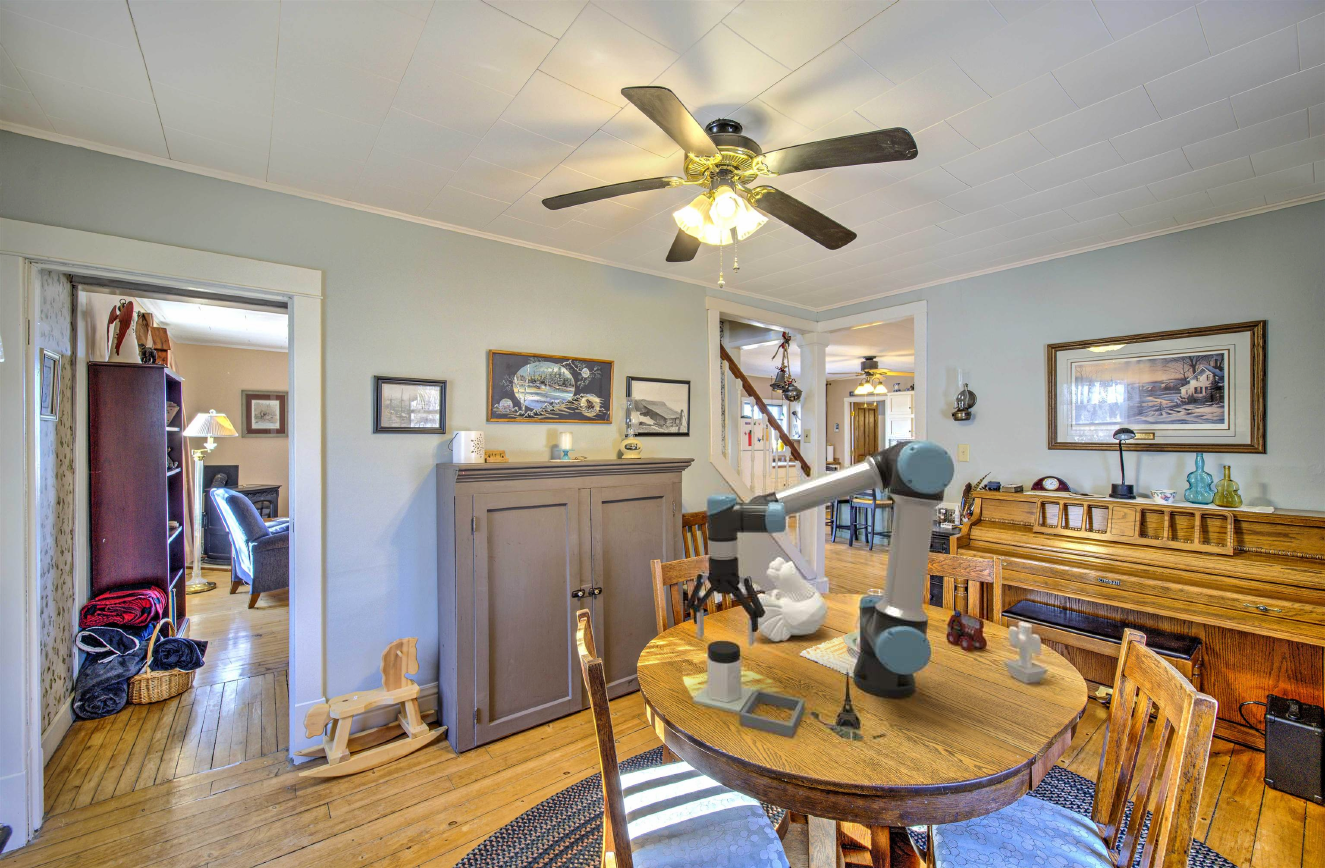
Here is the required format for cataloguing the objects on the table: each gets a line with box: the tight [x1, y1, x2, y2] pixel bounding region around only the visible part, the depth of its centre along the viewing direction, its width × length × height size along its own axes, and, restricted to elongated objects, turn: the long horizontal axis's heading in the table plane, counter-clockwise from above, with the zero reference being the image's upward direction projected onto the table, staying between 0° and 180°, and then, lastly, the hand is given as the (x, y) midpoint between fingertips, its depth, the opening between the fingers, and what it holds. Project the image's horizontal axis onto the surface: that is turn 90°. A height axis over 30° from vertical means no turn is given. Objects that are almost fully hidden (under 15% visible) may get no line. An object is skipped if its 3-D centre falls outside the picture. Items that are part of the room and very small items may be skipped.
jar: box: [706, 640, 742, 703], centre depth 134 cm, size 9×8×12 cm
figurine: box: [1003, 621, 1050, 684], centre depth 143 cm, size 7×9×15 cm
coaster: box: [692, 683, 755, 714], centre depth 134 cm, size 12×12×1 cm
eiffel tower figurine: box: [808, 667, 887, 742], centre depth 121 cm, size 15×10×13 cm
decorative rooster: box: [757, 556, 828, 643], centre depth 176 cm, size 25×16×25 cm
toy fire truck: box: [946, 610, 988, 652], centre depth 165 cm, size 7×12×10 cm, turn 17°
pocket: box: [738, 689, 806, 739], centre depth 124 cm, size 12×13×2 cm
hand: (725, 640), depth 134 cm, fingers open, 13 cm apart
